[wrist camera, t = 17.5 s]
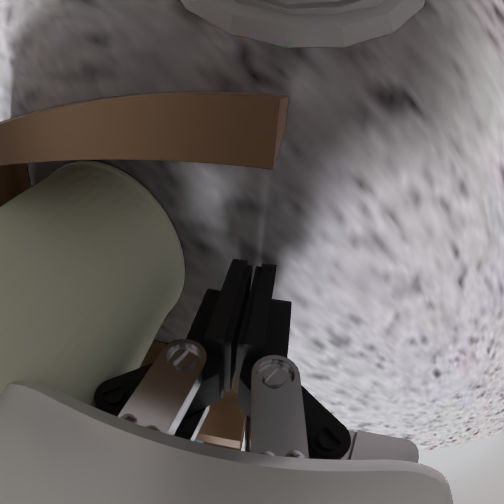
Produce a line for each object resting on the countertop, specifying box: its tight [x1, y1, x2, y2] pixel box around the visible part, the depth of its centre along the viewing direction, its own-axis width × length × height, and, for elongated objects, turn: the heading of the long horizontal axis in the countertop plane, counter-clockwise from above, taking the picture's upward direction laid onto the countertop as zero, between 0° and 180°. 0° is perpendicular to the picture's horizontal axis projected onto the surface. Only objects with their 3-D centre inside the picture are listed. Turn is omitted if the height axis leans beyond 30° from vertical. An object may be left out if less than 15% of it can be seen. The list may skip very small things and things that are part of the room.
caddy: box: [0, 91, 288, 451], centre depth 13 cm, size 14×22×5 cm, turn 176°
